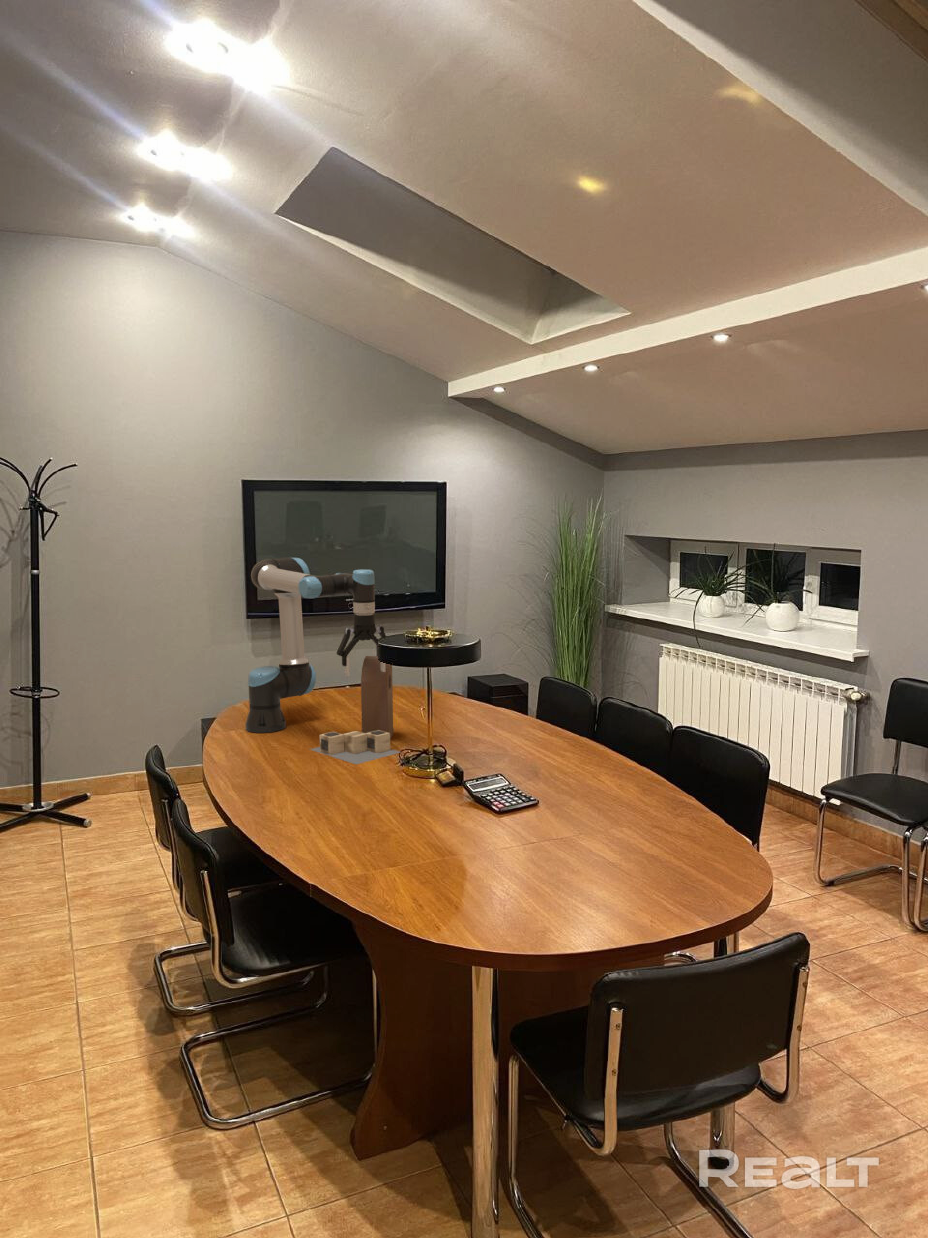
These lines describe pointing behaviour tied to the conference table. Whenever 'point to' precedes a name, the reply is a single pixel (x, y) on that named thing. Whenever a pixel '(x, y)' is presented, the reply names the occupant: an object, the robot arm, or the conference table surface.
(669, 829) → the conference table surface
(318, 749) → the mat
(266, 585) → the robot arm
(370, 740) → the marked block
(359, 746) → the plain block
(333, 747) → the marked block
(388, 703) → the decorative block
